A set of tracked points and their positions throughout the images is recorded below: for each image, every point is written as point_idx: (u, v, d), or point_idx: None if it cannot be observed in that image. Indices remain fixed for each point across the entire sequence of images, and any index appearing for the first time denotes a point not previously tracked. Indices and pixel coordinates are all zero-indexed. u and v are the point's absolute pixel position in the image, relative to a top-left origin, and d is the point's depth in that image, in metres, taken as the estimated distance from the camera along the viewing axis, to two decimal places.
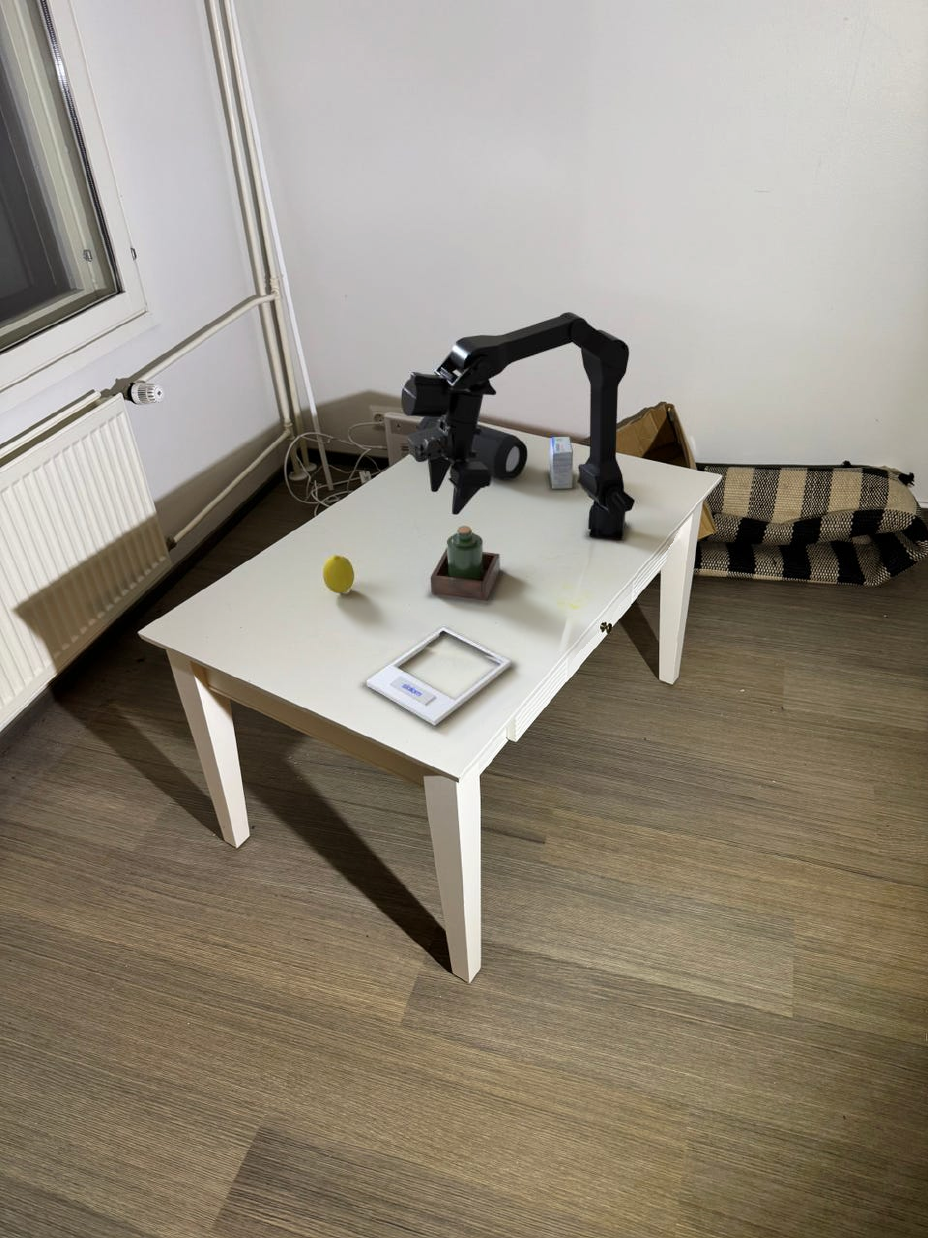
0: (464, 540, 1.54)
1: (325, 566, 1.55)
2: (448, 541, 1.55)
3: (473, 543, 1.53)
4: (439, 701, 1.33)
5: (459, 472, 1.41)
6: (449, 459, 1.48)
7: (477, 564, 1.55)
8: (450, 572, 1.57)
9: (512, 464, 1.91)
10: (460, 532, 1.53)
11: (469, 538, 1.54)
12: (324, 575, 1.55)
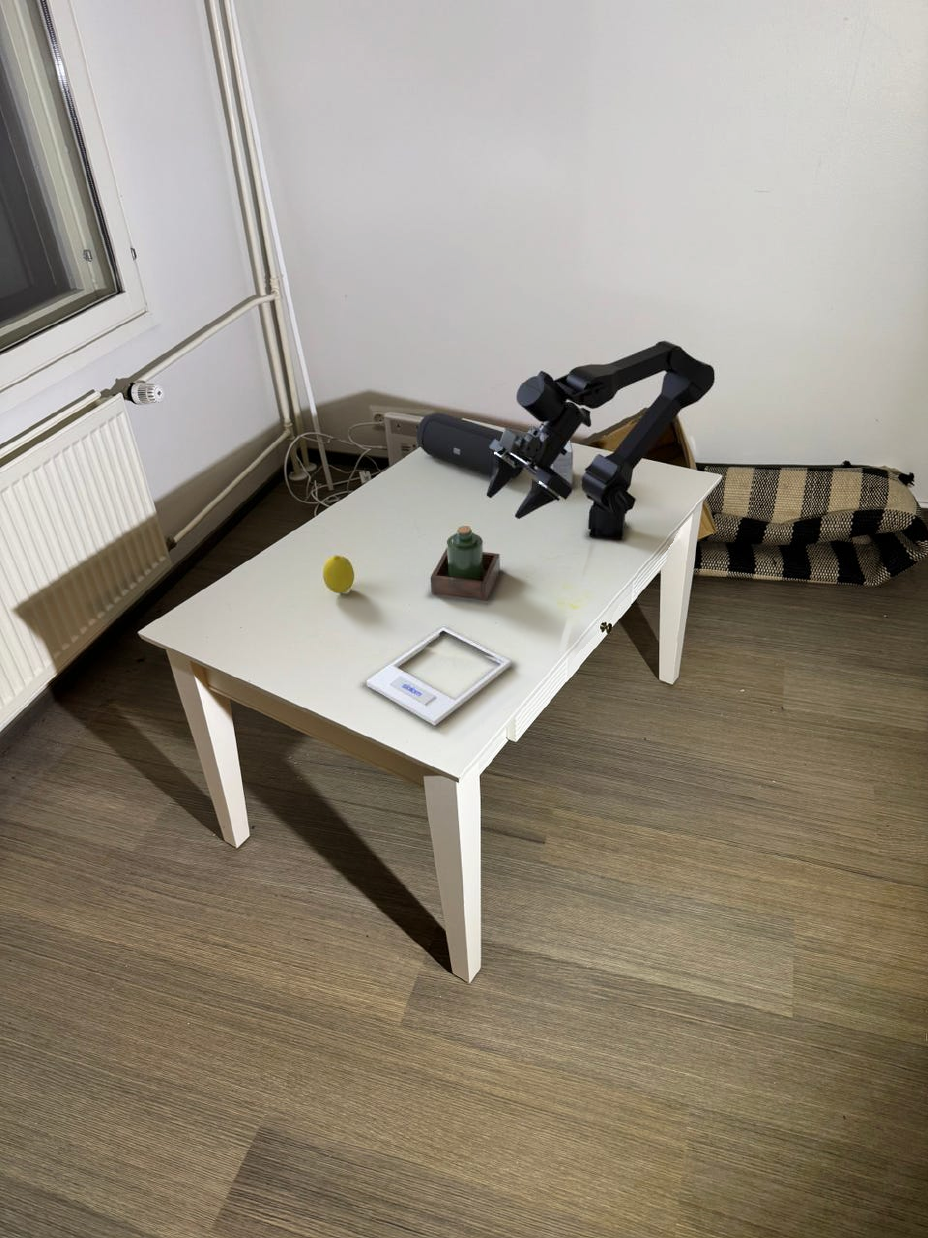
0: (464, 540, 1.54)
1: (325, 566, 1.55)
2: (448, 541, 1.55)
3: (473, 543, 1.53)
4: (439, 701, 1.33)
5: (551, 474, 1.47)
6: (529, 466, 1.53)
7: (477, 564, 1.55)
8: (450, 572, 1.57)
9: None
10: (460, 532, 1.53)
11: (469, 538, 1.54)
12: (324, 575, 1.55)
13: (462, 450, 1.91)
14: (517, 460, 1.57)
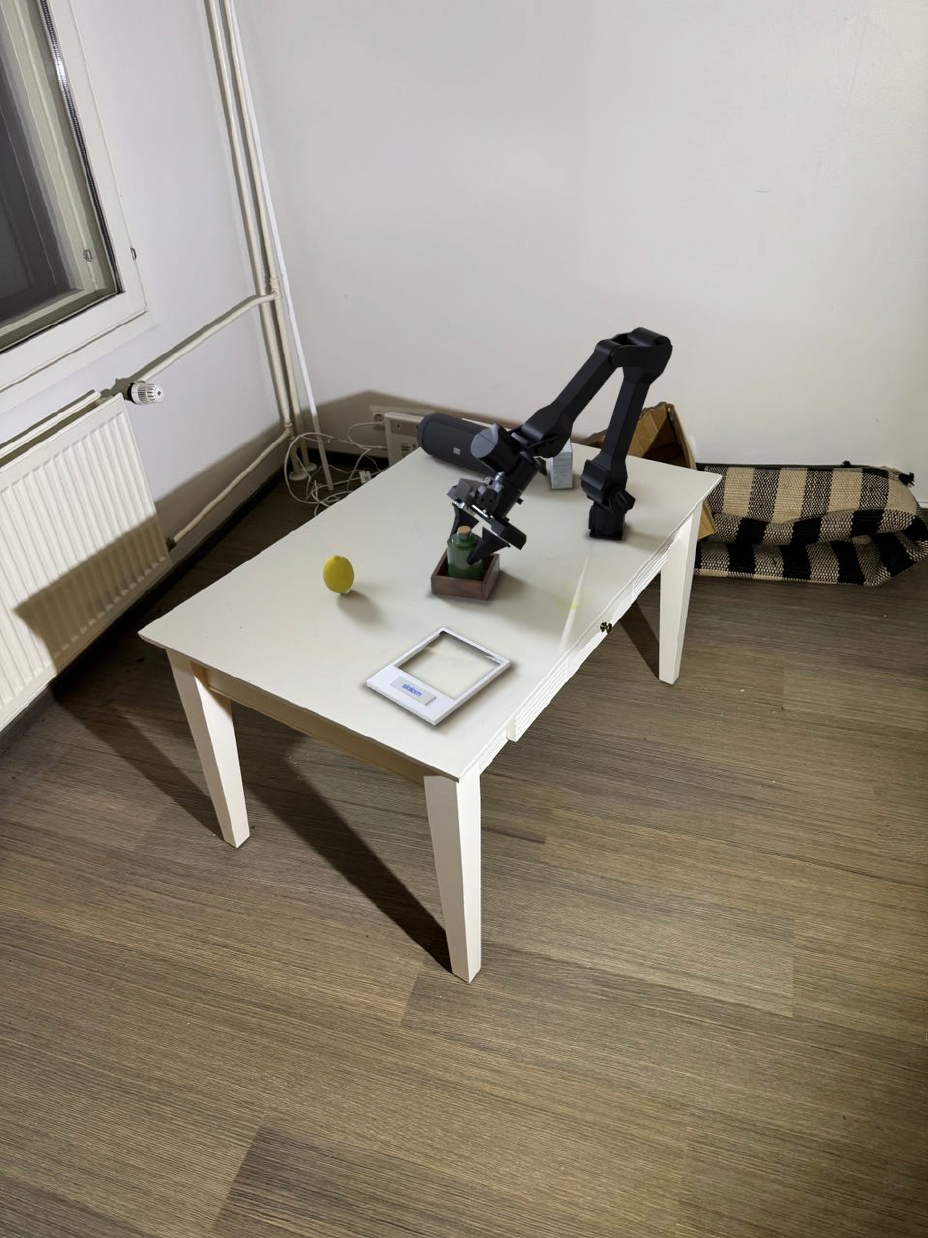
0: (464, 540, 1.54)
1: (325, 566, 1.55)
2: (448, 541, 1.55)
3: (473, 543, 1.53)
4: (439, 701, 1.33)
5: (505, 525, 1.47)
6: (489, 518, 1.52)
7: (477, 564, 1.55)
8: (450, 572, 1.57)
9: None
10: (460, 532, 1.53)
11: (469, 538, 1.54)
12: (324, 575, 1.55)
13: (462, 450, 1.91)
14: (474, 508, 1.57)
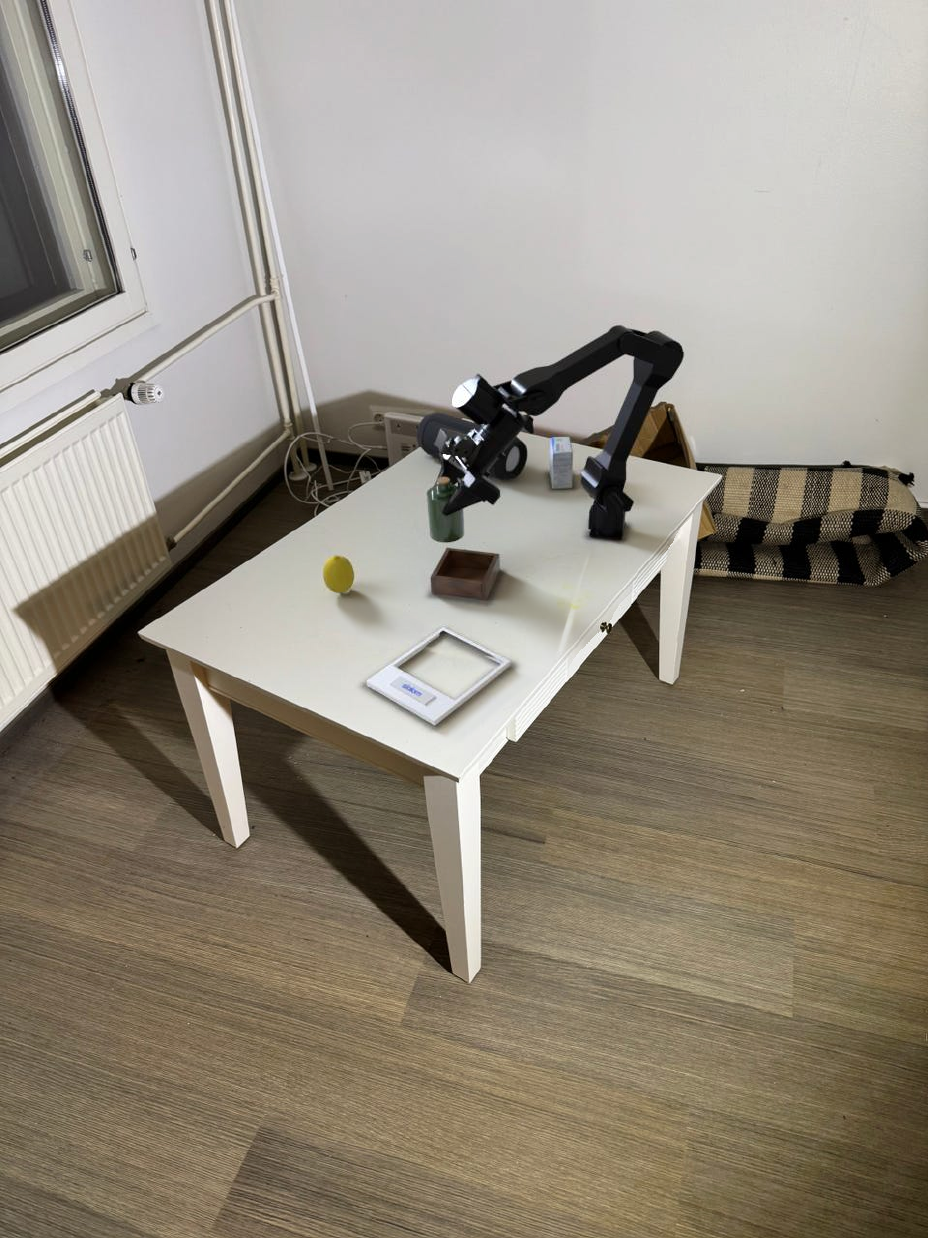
0: (442, 491, 1.54)
1: (325, 566, 1.55)
2: (429, 491, 1.57)
3: (450, 494, 1.54)
4: (439, 701, 1.33)
5: (476, 477, 1.47)
6: (467, 471, 1.52)
7: (454, 516, 1.56)
8: (429, 522, 1.58)
9: (512, 464, 1.91)
10: (439, 482, 1.54)
11: (447, 489, 1.54)
12: (324, 575, 1.55)
13: None
14: (459, 461, 1.57)
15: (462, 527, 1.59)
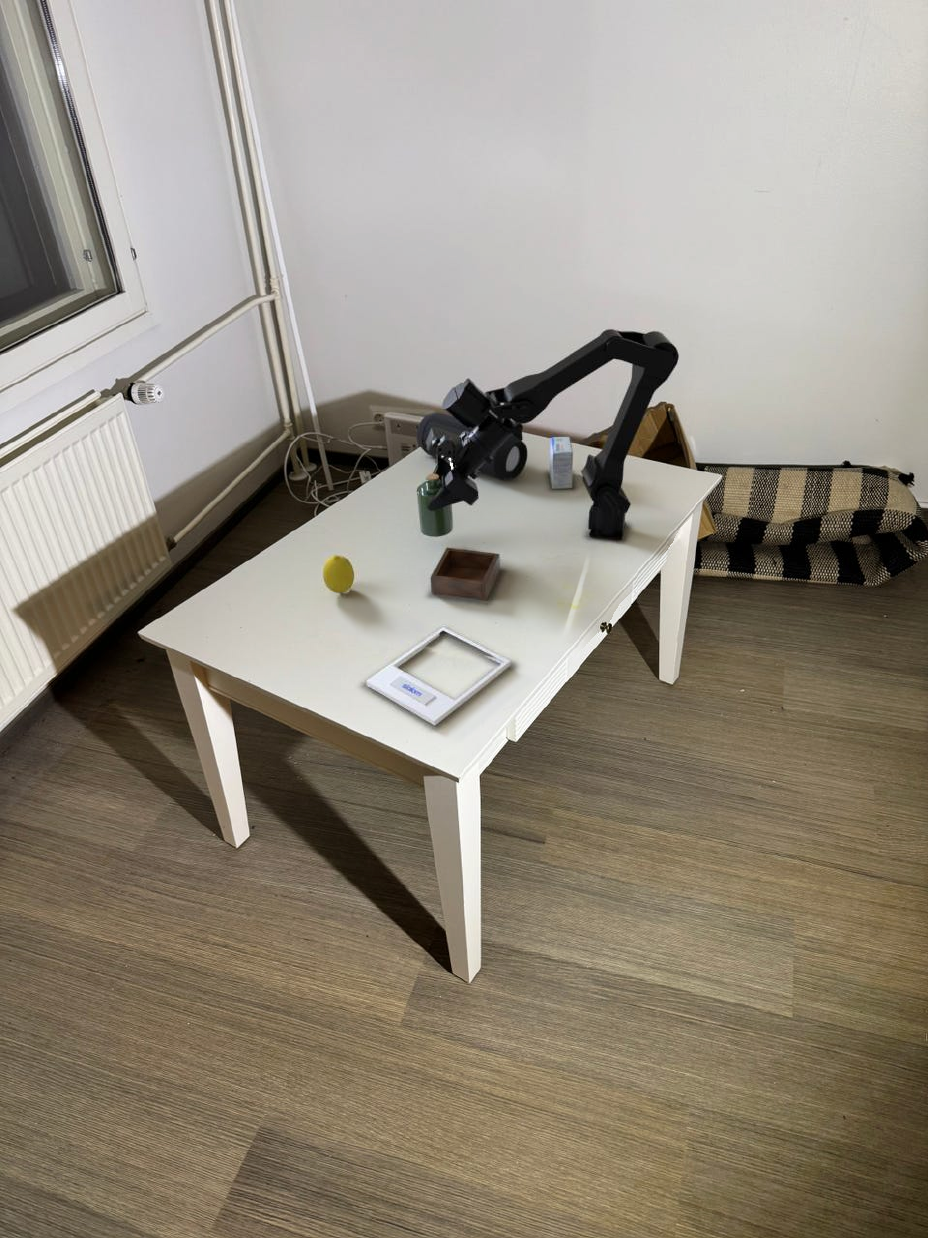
0: (430, 487, 1.62)
1: (325, 566, 1.55)
2: (420, 485, 1.64)
3: (436, 491, 1.61)
4: (439, 701, 1.33)
5: (454, 477, 1.53)
6: None
7: (439, 512, 1.63)
8: (419, 515, 1.66)
9: (512, 464, 1.91)
10: (427, 478, 1.61)
11: (435, 486, 1.62)
12: (324, 575, 1.55)
13: None
14: None
15: (449, 523, 1.66)
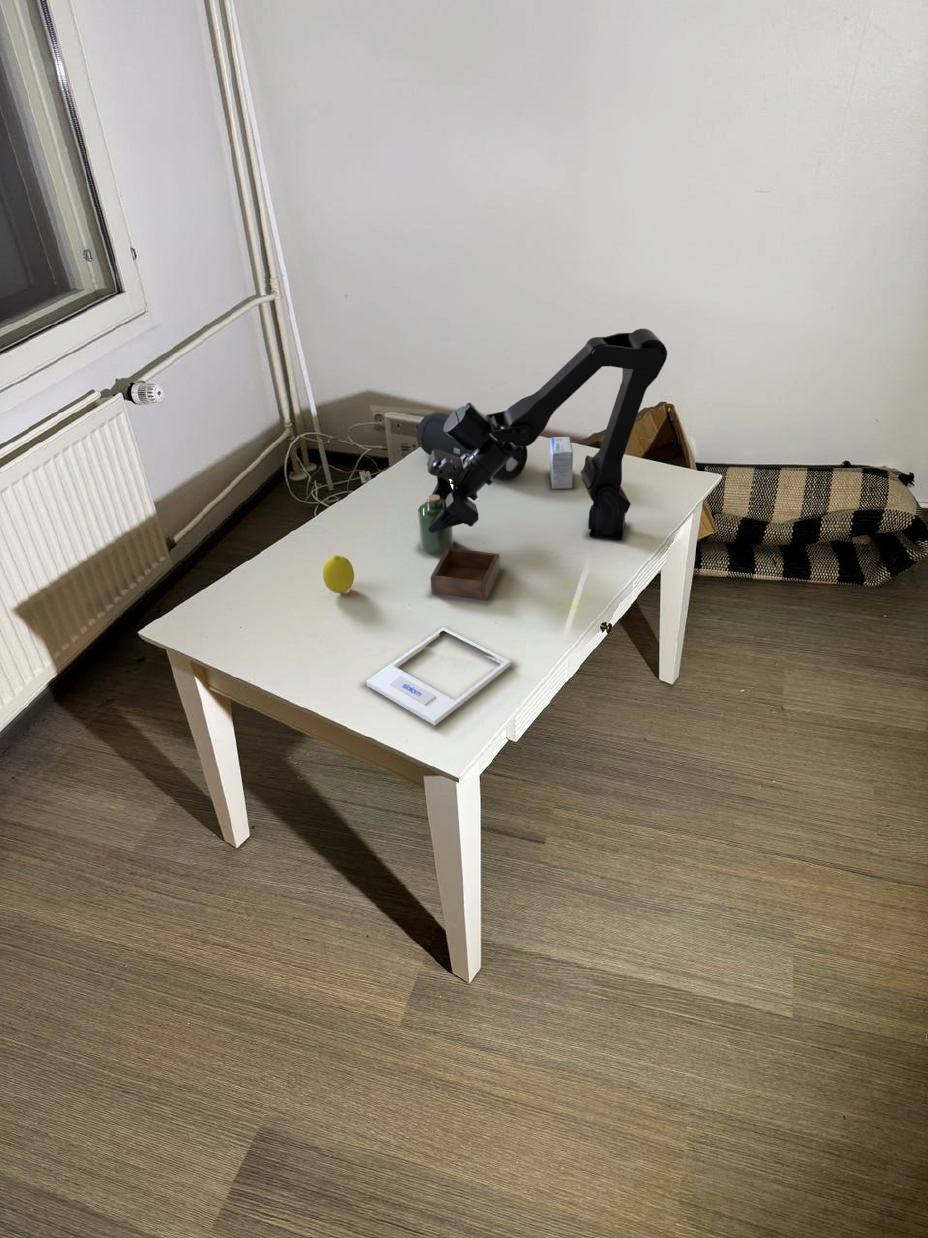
0: (431, 507, 1.64)
1: (325, 566, 1.55)
2: (421, 506, 1.67)
3: (437, 511, 1.64)
4: (439, 701, 1.33)
5: (454, 499, 1.56)
6: (454, 490, 1.62)
7: (440, 533, 1.65)
8: None
9: (512, 464, 1.91)
10: (429, 499, 1.64)
11: (436, 506, 1.64)
12: (324, 575, 1.55)
13: (462, 450, 1.91)
14: None
15: (449, 543, 1.68)
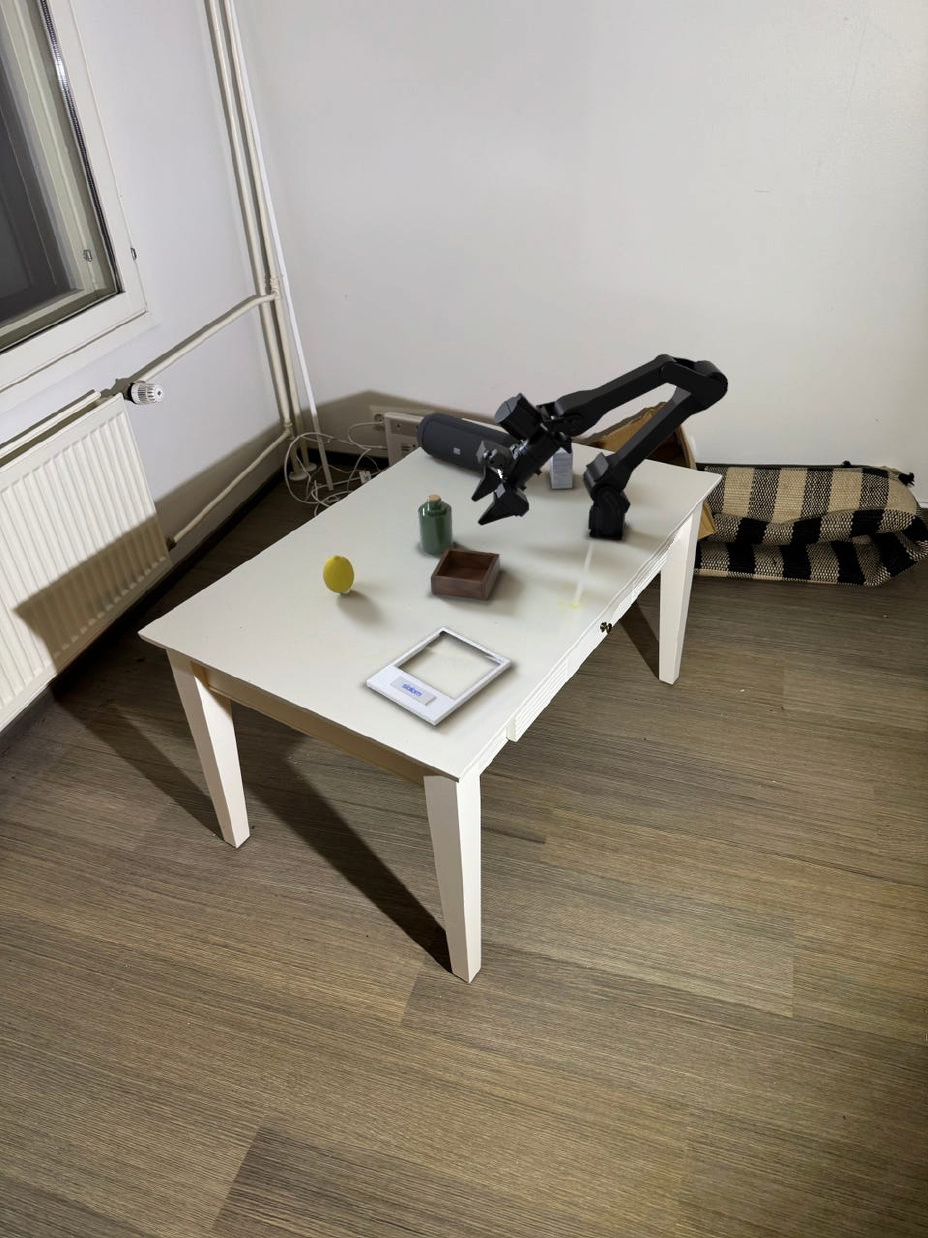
0: (431, 507, 1.64)
1: (325, 566, 1.55)
2: (421, 506, 1.67)
3: (437, 511, 1.64)
4: (439, 701, 1.33)
5: (506, 489, 1.56)
6: (502, 479, 1.63)
7: (440, 533, 1.65)
8: None
9: None
10: (429, 499, 1.64)
11: (436, 506, 1.64)
12: (324, 575, 1.55)
13: (462, 450, 1.91)
14: None
15: (449, 543, 1.68)
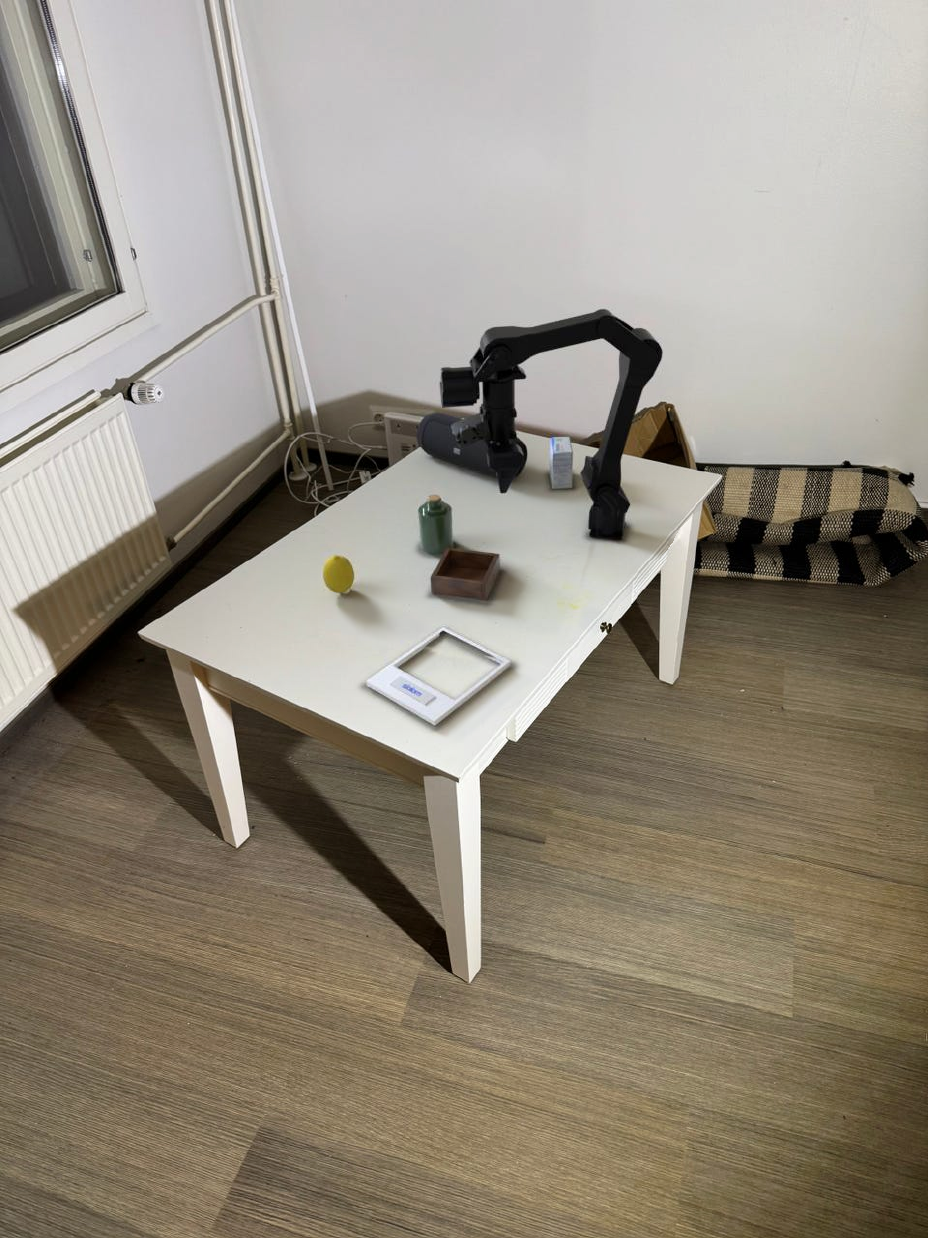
0: (431, 507, 1.64)
1: (325, 566, 1.55)
2: (421, 506, 1.67)
3: (437, 511, 1.64)
4: (439, 701, 1.33)
5: (490, 456, 1.52)
6: (493, 442, 1.58)
7: (440, 533, 1.65)
8: None
9: None
10: (429, 499, 1.64)
11: (436, 506, 1.64)
12: (324, 575, 1.55)
13: (462, 450, 1.91)
14: None
15: (449, 543, 1.68)
